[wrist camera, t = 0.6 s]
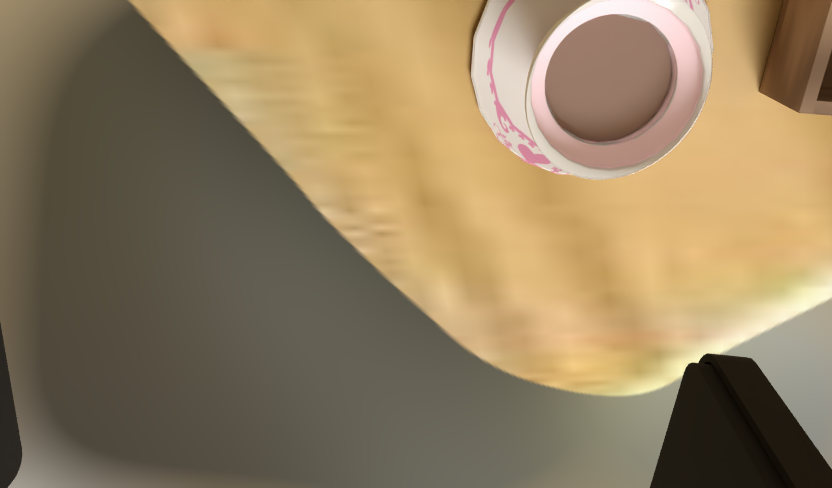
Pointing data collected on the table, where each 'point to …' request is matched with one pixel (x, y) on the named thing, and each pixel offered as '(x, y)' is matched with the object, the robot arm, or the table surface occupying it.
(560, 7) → the teacup
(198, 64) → the table surface
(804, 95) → the caddy
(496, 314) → the table surface
